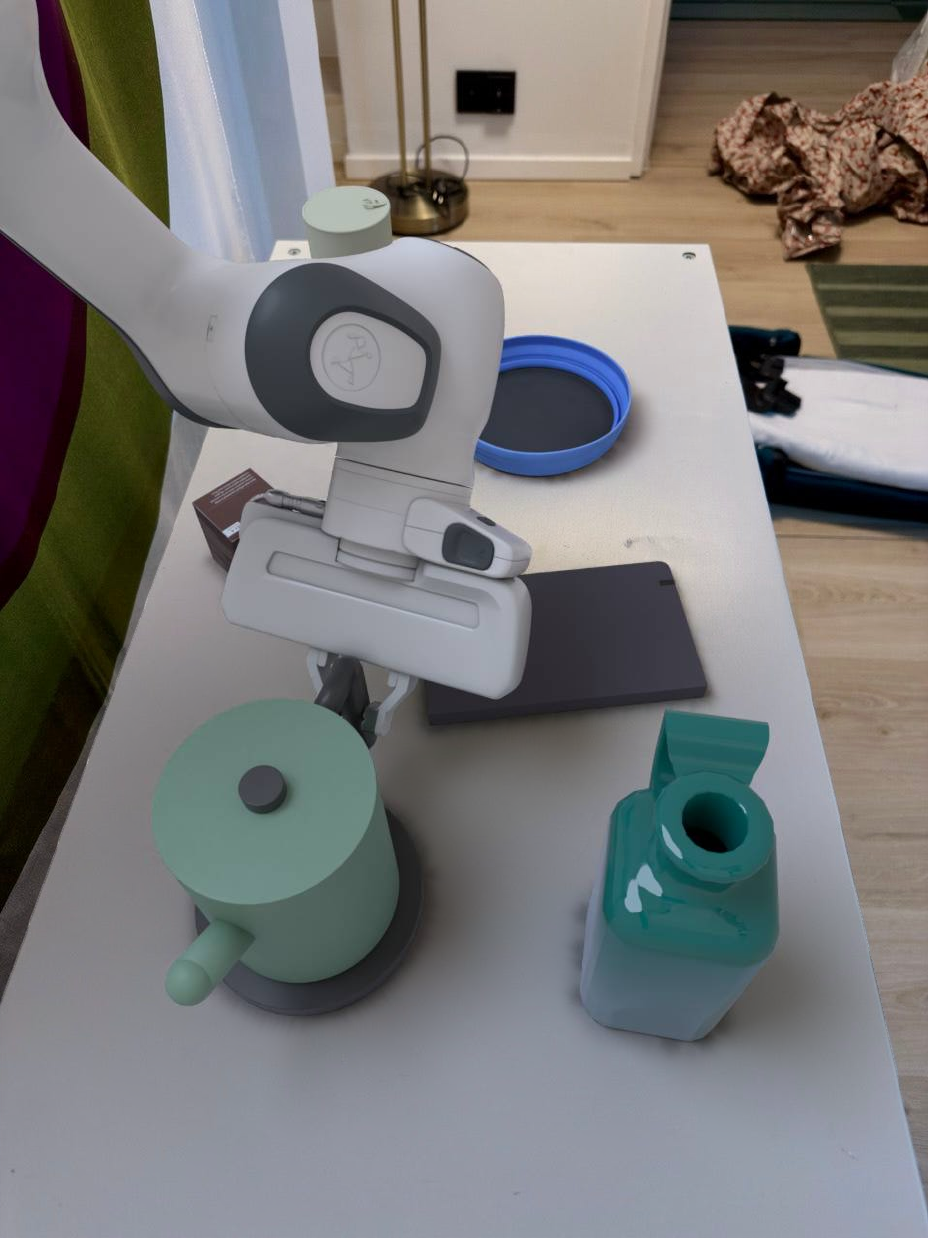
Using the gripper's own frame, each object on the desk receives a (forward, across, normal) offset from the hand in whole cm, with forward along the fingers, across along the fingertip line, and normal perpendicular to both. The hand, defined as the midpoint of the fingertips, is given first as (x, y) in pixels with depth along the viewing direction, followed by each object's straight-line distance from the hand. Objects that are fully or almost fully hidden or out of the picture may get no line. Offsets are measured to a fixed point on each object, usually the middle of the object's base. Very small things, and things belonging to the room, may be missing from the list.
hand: (351, 725), depth 59 cm
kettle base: (+12, 0, 0) cm, 12 cm away
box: (-6, -17, +18) cm, 26 cm away
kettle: (+11, 0, -1) cm, 11 cm away
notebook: (-6, +10, +18) cm, 21 cm away
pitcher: (+10, +22, +2) cm, 24 cm away
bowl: (-24, 0, +36) cm, 43 cm away
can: (-33, -24, +44) cm, 60 cm away
